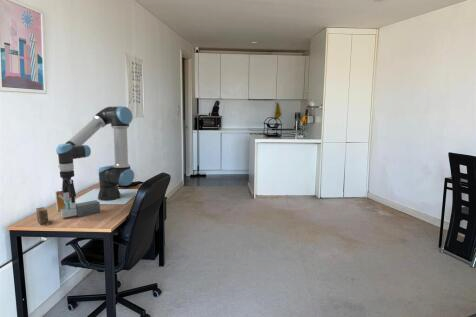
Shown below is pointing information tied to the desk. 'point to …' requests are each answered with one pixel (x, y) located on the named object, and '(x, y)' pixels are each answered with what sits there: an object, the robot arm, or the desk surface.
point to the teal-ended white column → (68, 210)
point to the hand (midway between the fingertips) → (70, 205)
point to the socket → (42, 215)
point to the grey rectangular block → (88, 208)
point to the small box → (60, 199)
